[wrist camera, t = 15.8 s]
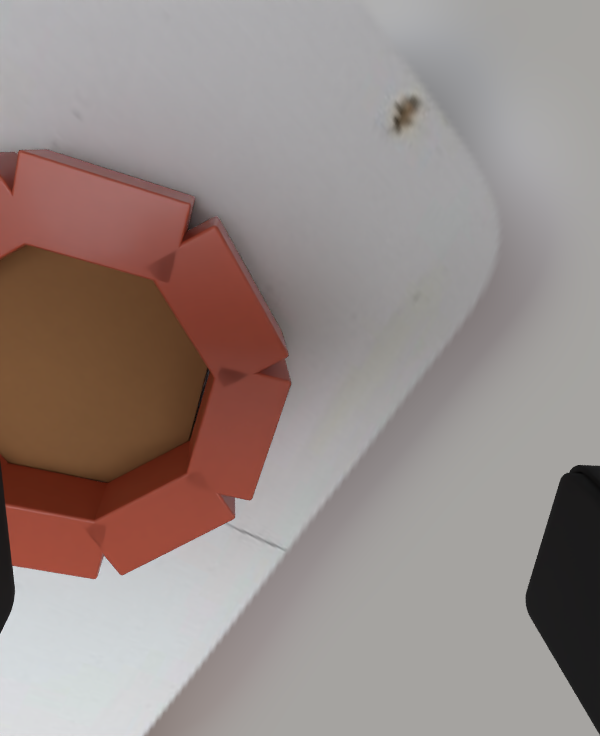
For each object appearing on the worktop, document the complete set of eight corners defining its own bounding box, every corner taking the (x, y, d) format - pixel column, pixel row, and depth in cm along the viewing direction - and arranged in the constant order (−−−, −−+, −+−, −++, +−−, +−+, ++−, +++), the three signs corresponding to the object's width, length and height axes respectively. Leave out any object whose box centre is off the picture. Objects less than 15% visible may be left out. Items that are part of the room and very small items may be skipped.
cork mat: (-37, 211, 15) (-42, 212, 15) (229, 281, 16) (229, 284, 16) (-61, 446, 17) (-66, 451, 17) (175, 489, 18) (174, 494, 18)
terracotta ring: (-116, 97, 13) (-170, 90, 12) (324, 237, 16) (337, 249, 14) (-148, 490, 17) (-194, 533, 15) (218, 557, 19) (217, 600, 17)
